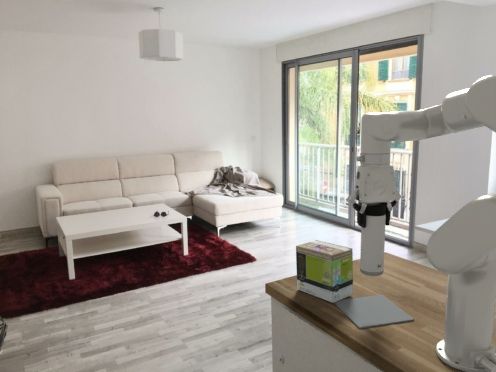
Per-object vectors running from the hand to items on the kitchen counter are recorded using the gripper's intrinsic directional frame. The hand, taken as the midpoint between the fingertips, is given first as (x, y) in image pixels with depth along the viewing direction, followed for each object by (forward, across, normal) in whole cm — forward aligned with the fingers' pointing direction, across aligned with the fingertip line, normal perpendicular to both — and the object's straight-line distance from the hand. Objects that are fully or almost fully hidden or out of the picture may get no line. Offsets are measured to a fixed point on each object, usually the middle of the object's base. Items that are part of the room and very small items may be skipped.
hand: (373, 224), depth 113 cm
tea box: (+25, -8, +15) cm, 30 cm away
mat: (+25, 0, 0) cm, 25 cm away
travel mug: (+14, 0, 0) cm, 14 cm away
